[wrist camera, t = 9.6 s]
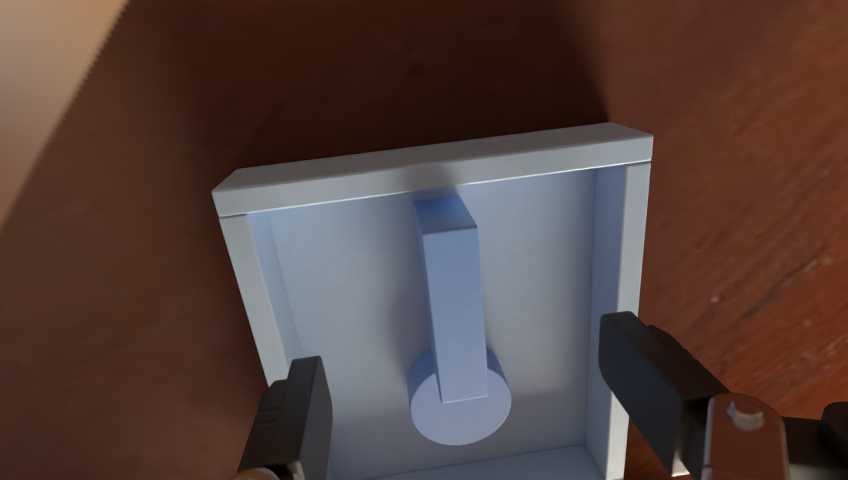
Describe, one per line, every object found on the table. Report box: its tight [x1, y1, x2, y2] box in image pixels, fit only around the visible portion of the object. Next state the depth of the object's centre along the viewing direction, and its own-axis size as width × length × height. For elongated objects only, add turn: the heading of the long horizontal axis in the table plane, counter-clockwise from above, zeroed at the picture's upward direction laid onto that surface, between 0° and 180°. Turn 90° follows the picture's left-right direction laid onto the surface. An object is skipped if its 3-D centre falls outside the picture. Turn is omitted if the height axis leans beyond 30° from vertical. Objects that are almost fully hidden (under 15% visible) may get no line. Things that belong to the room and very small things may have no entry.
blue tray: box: [212, 122, 653, 480], centre depth 17 cm, size 15×13×3 cm
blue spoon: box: [407, 196, 511, 445], centre depth 16 cm, size 10×4×3 cm, turn 6°
